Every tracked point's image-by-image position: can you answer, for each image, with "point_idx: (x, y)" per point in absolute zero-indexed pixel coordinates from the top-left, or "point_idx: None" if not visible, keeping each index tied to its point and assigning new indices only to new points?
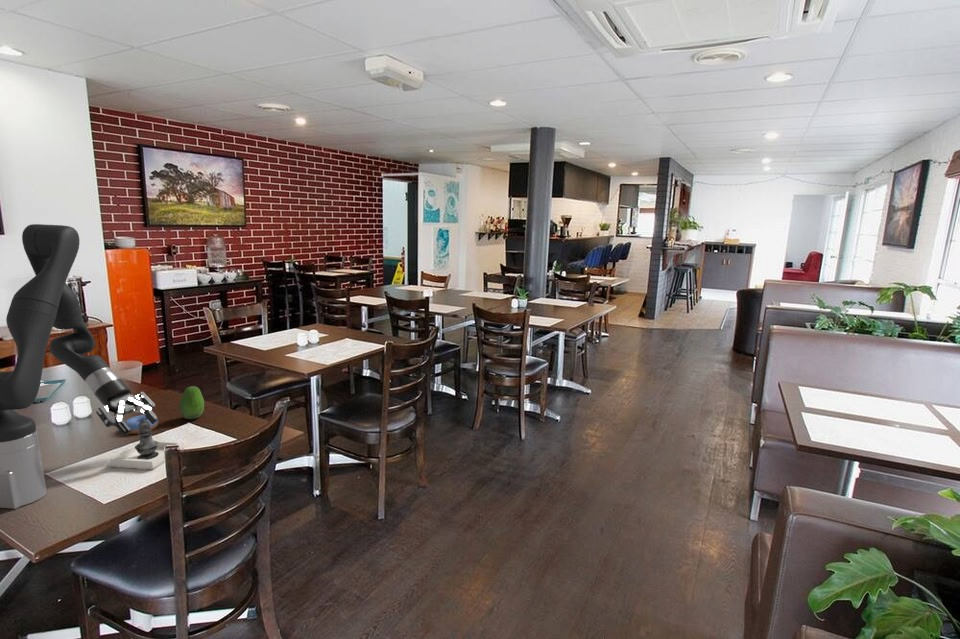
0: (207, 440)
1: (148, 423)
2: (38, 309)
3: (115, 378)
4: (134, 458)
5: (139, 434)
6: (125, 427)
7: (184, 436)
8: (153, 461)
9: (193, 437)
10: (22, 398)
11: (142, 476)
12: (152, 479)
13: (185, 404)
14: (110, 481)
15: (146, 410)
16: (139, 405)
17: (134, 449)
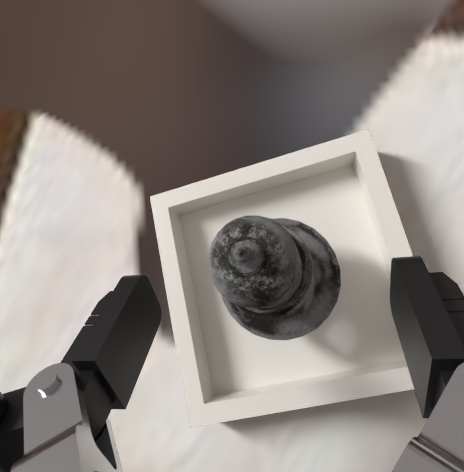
0: (72, 196)
1: (239, 218)
2: None
3: None
4: (330, 324)
5: (308, 274)
6: (435, 291)
7: (62, 330)
8: (359, 133)
9: (62, 280)
10: None
11: (429, 133)
12: (427, 71)
13: None
14: None
15: (86, 395)
16: (84, 462)
17: (283, 386)
